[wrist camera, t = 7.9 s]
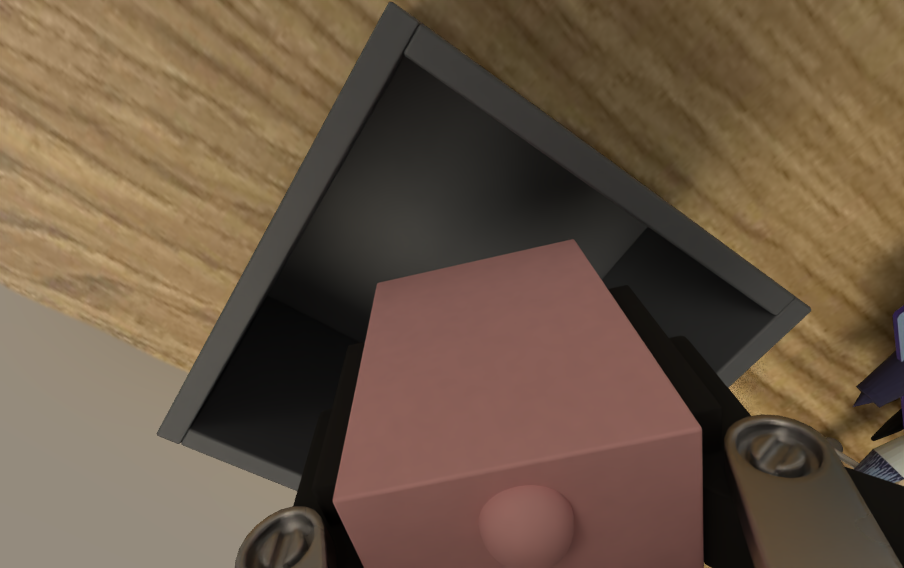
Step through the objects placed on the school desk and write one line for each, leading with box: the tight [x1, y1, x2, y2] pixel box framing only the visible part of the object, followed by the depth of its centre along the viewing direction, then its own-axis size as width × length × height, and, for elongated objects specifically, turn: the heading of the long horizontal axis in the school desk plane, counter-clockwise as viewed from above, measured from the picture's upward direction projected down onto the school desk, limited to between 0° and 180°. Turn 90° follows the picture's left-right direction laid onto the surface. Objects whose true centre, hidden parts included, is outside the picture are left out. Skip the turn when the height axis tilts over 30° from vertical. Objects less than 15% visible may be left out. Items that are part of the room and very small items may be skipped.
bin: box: [157, 2, 811, 491], centre depth 16 cm, size 11×11×8 cm
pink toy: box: [333, 239, 704, 568], centre depth 10 cm, size 4×4×7 cm
